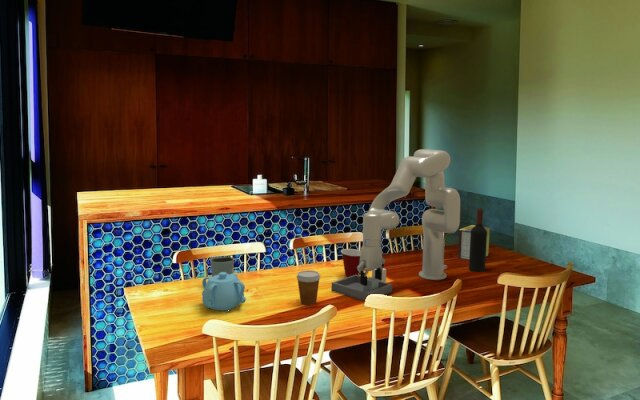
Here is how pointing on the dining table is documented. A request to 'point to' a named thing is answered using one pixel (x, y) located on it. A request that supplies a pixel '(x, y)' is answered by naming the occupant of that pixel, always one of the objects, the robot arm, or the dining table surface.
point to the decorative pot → (223, 292)
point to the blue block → (371, 284)
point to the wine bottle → (478, 245)
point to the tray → (358, 288)
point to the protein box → (468, 242)
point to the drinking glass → (222, 265)
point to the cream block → (382, 275)
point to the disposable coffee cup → (308, 286)
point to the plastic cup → (351, 261)
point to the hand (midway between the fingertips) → (371, 282)
